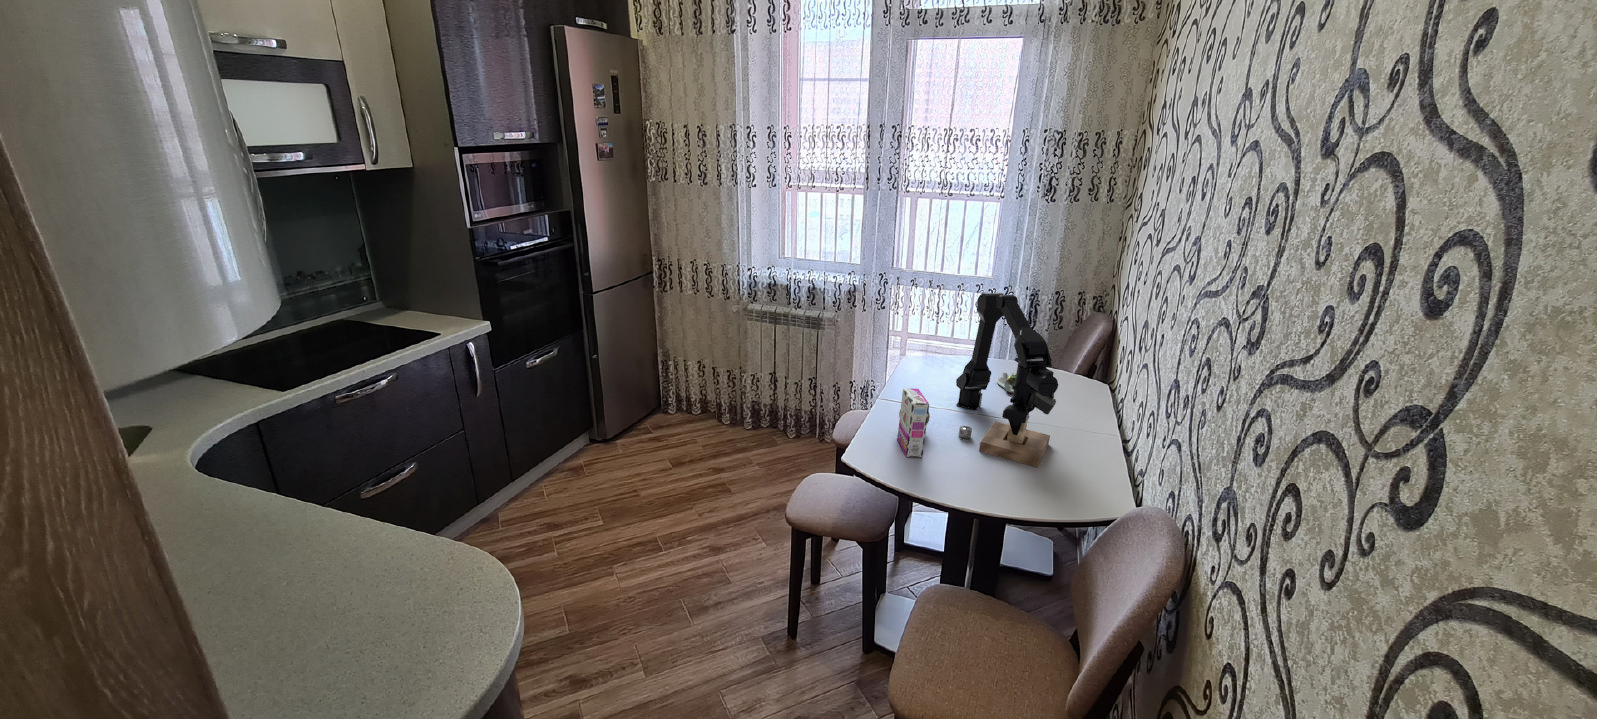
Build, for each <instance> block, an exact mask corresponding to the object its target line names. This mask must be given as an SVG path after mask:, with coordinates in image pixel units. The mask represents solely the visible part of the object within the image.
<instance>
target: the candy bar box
mask: <svg viewBox="0 0 1597 719" xmlns="http://www.w3.org/2000/svg"><path fill="white" fill-rule="evenodd" d="M901 396H902V397H901V402H900V409H901V411H900V410H899V412H900V417H899V420H898V422H899V423H898V429H897V430H898V431H897V441H898V444H899V445H900V447H901V449H902V451H903V454H904V456H905V457H906V458H917V459H918V458H923V456H924V447H925V440H926V433H927V426H928V423H927V418H928V411H930V403H929V401H928V400H927V399H926V397H925V396H924V395H923V393H922V392H921V390H920V389H919V388H902V395H901Z"/></svg>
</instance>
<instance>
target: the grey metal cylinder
mask: <svg viewBox="0 0 1597 719" xmlns="http://www.w3.org/2000/svg"><path fill="white" fill-rule="evenodd" d="M972 432H973V428H972V427H971V426H969V425H961V426H959V430H958V436H957V437H958V438H959V439H960V440H962V441H970V440H971V439H972Z"/></svg>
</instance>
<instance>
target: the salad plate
mask: <svg viewBox="0 0 1597 719" xmlns="http://www.w3.org/2000/svg"><path fill="white" fill-rule="evenodd" d="M1015 378H1016V374H1015V373H1014V372H1012V373H1011V375H1010V376H1009V375H1008V373H1007V372H1002V375H1001V377H998V378H997V379H996V383H997V384H998V385H999V387H1001V388H1003V390H1005V391H1006V392H1008V393H1010V394H1011V395H1013V390H1014V389H1012V387H1013V385H1014V383H1015Z"/></svg>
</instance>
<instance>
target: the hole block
mask: <svg viewBox="0 0 1597 719" xmlns="http://www.w3.org/2000/svg"><path fill="white" fill-rule="evenodd" d="M1009 425H1010V424H1008V423H1003V422H1000V421H997V420H996V421H994V422H993V423H992V425H991V426H990V428H989V429H988V430H987V432H986V433H985V434H984V436H983V438H982V439H981V440H980V442H979V449H978V451H979V452H981V453H984V454H988V455H992V456H996V457H998V458H999V457H1000V458H1003V459H1005V460H1009V461H1014V462H1016V463H1020V464H1024V465H1027V466H1030V467H1031V466H1032V467H1035V468H1038V467H1039V464H1040V462H1041V461H1042V458H1044V454H1045V452H1046V450H1047V448H1048V446H1049V445H1050V444H1049V443H1050V438H1051V435H1050V434H1046V433H1042V432H1038V431H1035V430H1031V429H1027V428H1026V432H1025V438H1024V440H1023V442H1022V444H1017V443H1014V442H1010V441H1007V437H1008V431H1009Z"/></svg>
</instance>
